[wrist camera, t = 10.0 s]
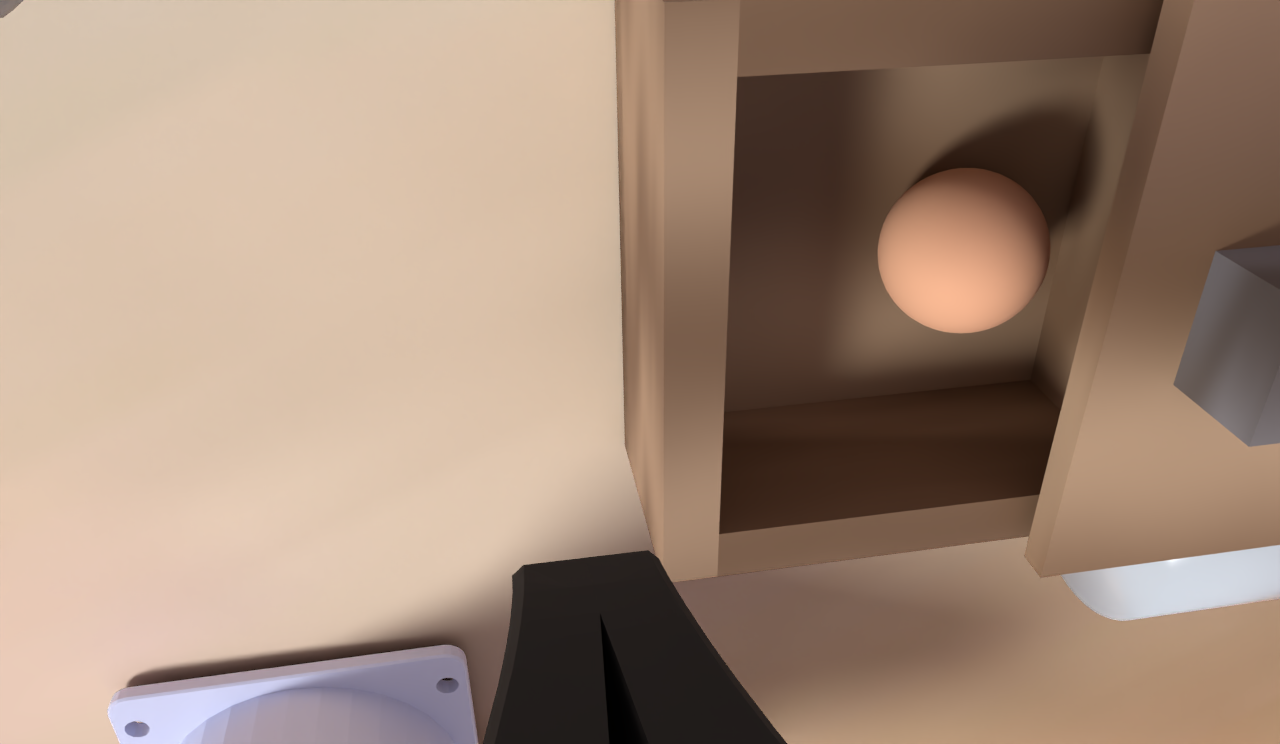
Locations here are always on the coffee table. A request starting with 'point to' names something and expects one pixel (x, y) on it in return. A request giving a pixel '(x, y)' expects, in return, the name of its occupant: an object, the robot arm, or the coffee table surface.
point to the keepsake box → (848, 264)
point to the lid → (1180, 316)
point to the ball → (964, 250)
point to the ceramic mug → (8, 6)
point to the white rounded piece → (1180, 584)
